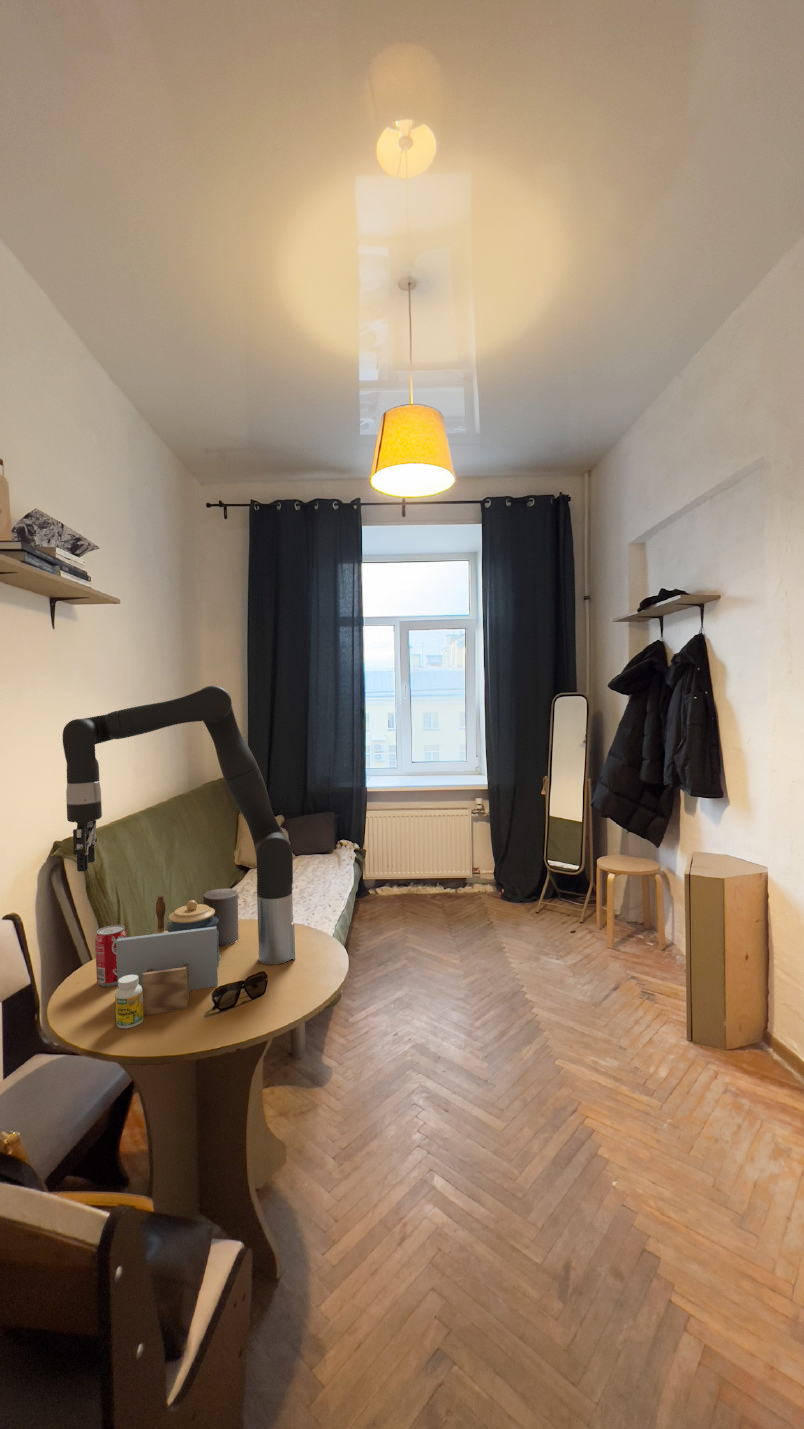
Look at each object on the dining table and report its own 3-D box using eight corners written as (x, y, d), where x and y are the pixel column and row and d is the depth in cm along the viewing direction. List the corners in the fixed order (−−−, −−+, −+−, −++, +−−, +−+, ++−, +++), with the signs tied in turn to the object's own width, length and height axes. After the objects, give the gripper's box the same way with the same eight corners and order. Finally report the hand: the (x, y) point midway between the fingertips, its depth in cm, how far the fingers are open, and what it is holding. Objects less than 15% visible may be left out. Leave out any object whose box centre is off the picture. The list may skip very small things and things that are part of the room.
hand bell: (170, 945, 172) (168, 889, 172) (182, 953, 166) (180, 895, 165) (140, 953, 166) (138, 896, 166) (151, 962, 160) (149, 903, 160)
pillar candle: (197, 946, 170) (196, 893, 170) (213, 933, 180) (212, 883, 180) (229, 948, 169) (228, 895, 168) (244, 934, 178) (243, 884, 178)
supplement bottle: (145, 1014, 133) (144, 971, 133) (140, 1027, 128) (139, 982, 127) (119, 1018, 132) (117, 974, 131) (113, 1031, 126) (111, 985, 126)
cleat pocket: (189, 990, 144) (188, 953, 144) (187, 1008, 135) (185, 968, 135) (148, 996, 141) (147, 958, 141) (143, 1015, 133) (142, 974, 132)
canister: (185, 956, 164) (183, 891, 163) (229, 959, 161) (227, 893, 161) (156, 977, 151) (153, 907, 151) (203, 981, 148) (201, 910, 148)
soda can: (116, 989, 145) (114, 935, 145) (90, 987, 147) (88, 934, 147) (134, 975, 152) (133, 924, 152) (109, 974, 154) (107, 923, 154)
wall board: (217, 983, 147) (216, 926, 147) (217, 986, 146) (215, 928, 145) (119, 998, 141) (117, 938, 140) (118, 1001, 139) (116, 941, 139)
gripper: (95, 803, 141) (97, 872, 142) (106, 795, 155) (108, 858, 155) (59, 806, 139) (62, 876, 140) (73, 797, 153) (75, 861, 153)
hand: (86, 866), depth 148 cm, fingers open, 8 cm apart
